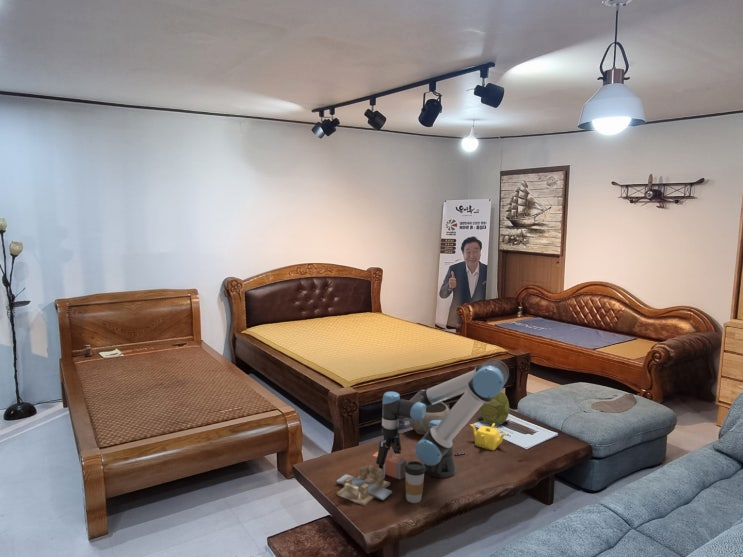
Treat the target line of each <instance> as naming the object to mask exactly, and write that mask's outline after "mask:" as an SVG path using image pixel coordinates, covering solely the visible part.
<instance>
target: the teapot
mask: <svg viewBox="0 0 743 557" xmlns="http://www.w3.org/2000/svg"><path fill="white" fill-rule="evenodd" d="M469 425H470V426H471V428H472V432H473V437H474V445H475V446H476V447H479V448H481V447H482V449H485V450H489V449H490V451H495V450H496V449H497V448H498V447H499V446H500V444H502V442H503V440H504V437H505V436H506V435H507V433H505V432H503V433H500V430H499V429H497V428H495V426H496V425H495V423H493V424H491V427H490V426H485V425H482V426H480V427H479V428H478V429H476V425H473V424H471V423H470V424H469Z"/></svg>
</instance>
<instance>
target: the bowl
mask: <svg viewBox="0 0 743 557" xmlns="http://www.w3.org/2000/svg"><path fill="white" fill-rule="evenodd" d="M450 410H451V409H450V407H449V406H448V405H447V404H446V403H444V401H442V402H439V403H437V404H434V405H432V406H429V407H427V408H426V414H425V416H424V419H423V420H413V419H410V418H407V420H408V423H409V425H410V427H411V428H412V429H413V430H414V431H415V432H417V433H418V434H420V435H422V436H424V435H425V434H426V433H427V432H428V430H429V422H430V421H432V420H442V419H443V418H444V417H445V416H446V415H447V413H448V412H449V411H450Z"/></svg>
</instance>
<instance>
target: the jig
mask: <svg viewBox="0 0 743 557" xmlns="http://www.w3.org/2000/svg"><path fill="white" fill-rule="evenodd" d="M336 483H337V484H340V485H342V486H343V487H342V488H341V489H340V490H338V491H336V496H339V497H341V498H344V499H347V500H349V501H351V502H354V503H356V504H360V506H361V505H362V506H367V504H369V503H370V502H371V501H372V500H373V499H375V498H376V499H379V500H382V501H384V500H385V499H387V498H388V497H389V496H390V495H391V494H392V493H393V490H390V489H388V488H387V487H389V486H390V485H391V482H390V481H386V480H385V478H384V473H383V472H382V469H381V468H378V467H375V466H372V464H370V465H369V466H366V465H365V466H364V465H362V467H360V468H359V475H358V476H357V477H355V476H353V475H350V474H347V473H345V474H344V475H342V476H341V477H340V478H338V479H337V480H336Z"/></svg>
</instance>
